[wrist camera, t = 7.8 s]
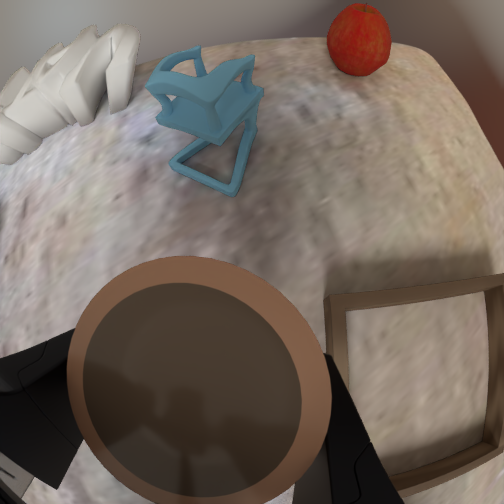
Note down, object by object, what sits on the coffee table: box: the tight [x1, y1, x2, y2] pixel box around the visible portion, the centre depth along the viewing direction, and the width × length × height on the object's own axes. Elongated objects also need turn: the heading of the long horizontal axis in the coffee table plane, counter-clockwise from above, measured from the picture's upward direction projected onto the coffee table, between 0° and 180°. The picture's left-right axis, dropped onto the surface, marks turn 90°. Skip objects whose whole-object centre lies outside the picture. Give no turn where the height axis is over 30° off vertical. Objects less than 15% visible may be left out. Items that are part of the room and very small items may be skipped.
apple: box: [327, 3, 392, 76], centre depth 25 cm, size 8×8×11 cm
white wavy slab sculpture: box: [0, 24, 141, 165], centre depth 28 cm, size 35×16×11 cm, turn 96°
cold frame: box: [323, 273, 504, 498], centre depth 17 cm, size 18×18×3 cm
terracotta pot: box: [67, 256, 332, 504], centre depth 10 cm, size 6×6×10 cm
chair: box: [145, 46, 264, 197], centre depth 21 cm, size 8×8×12 cm
